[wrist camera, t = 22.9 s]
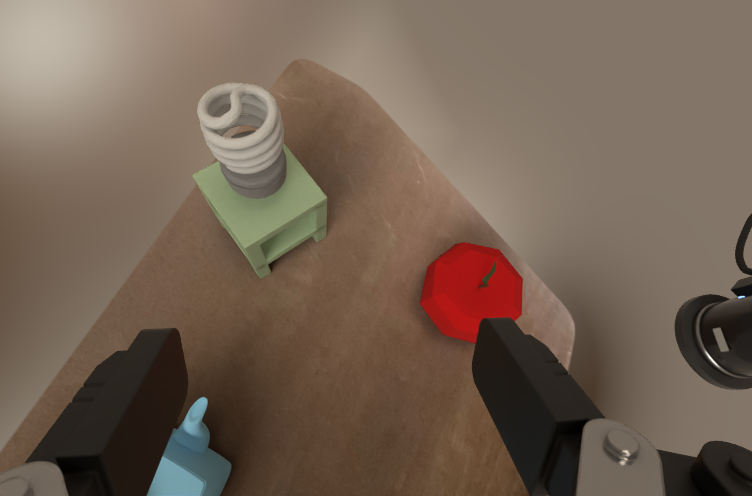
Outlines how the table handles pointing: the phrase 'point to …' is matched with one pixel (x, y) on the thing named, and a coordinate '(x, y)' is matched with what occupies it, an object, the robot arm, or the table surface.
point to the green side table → (267, 213)
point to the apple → (470, 290)
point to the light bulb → (245, 137)
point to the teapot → (190, 460)
